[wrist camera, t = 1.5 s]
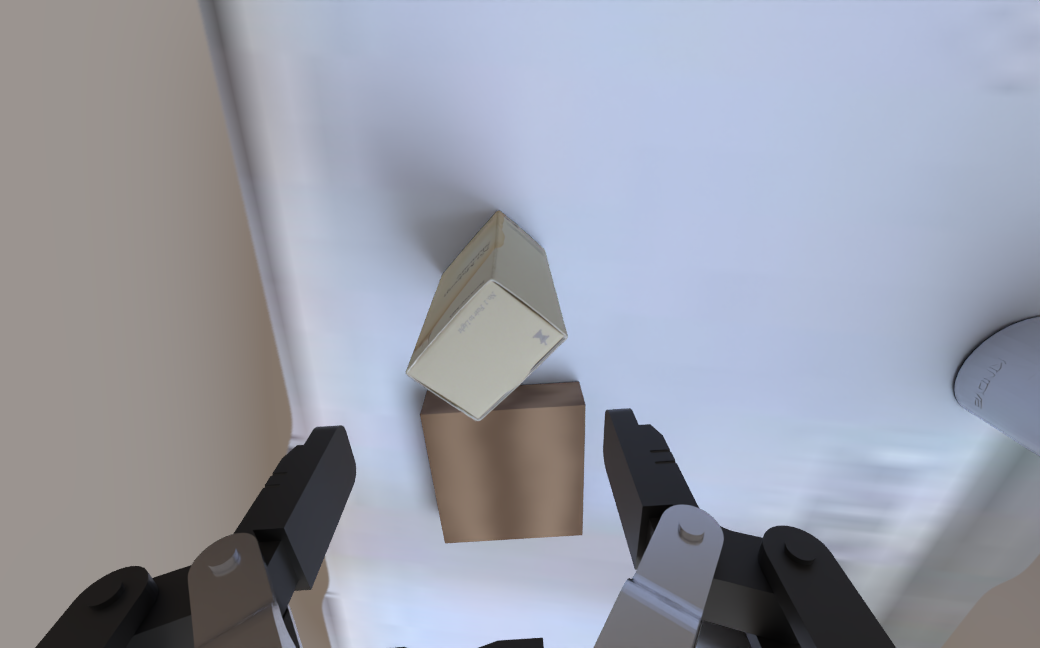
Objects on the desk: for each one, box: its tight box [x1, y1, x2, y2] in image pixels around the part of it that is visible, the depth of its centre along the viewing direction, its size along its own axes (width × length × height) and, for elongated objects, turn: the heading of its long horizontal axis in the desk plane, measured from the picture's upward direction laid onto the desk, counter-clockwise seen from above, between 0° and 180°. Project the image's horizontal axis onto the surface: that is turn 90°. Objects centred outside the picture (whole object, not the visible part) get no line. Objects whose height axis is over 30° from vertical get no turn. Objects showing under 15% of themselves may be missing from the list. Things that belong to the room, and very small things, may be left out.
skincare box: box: [406, 211, 568, 421], centre depth 23 cm, size 6×4×12 cm
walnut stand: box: [420, 382, 585, 543], centre depth 35 cm, size 12×14×3 cm
